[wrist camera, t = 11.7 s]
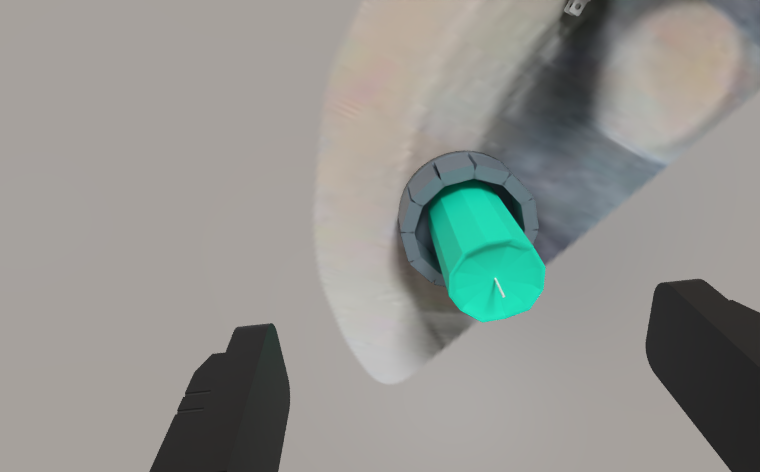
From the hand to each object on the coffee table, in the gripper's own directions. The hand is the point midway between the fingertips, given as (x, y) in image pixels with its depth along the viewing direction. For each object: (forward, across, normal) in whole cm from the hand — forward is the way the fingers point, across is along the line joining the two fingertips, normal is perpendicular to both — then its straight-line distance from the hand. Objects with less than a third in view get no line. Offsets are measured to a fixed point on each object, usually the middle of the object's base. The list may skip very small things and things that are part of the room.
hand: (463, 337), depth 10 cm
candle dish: (+28, -5, +10) cm, 30 cm away
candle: (+27, -5, +9) cm, 29 cm away
